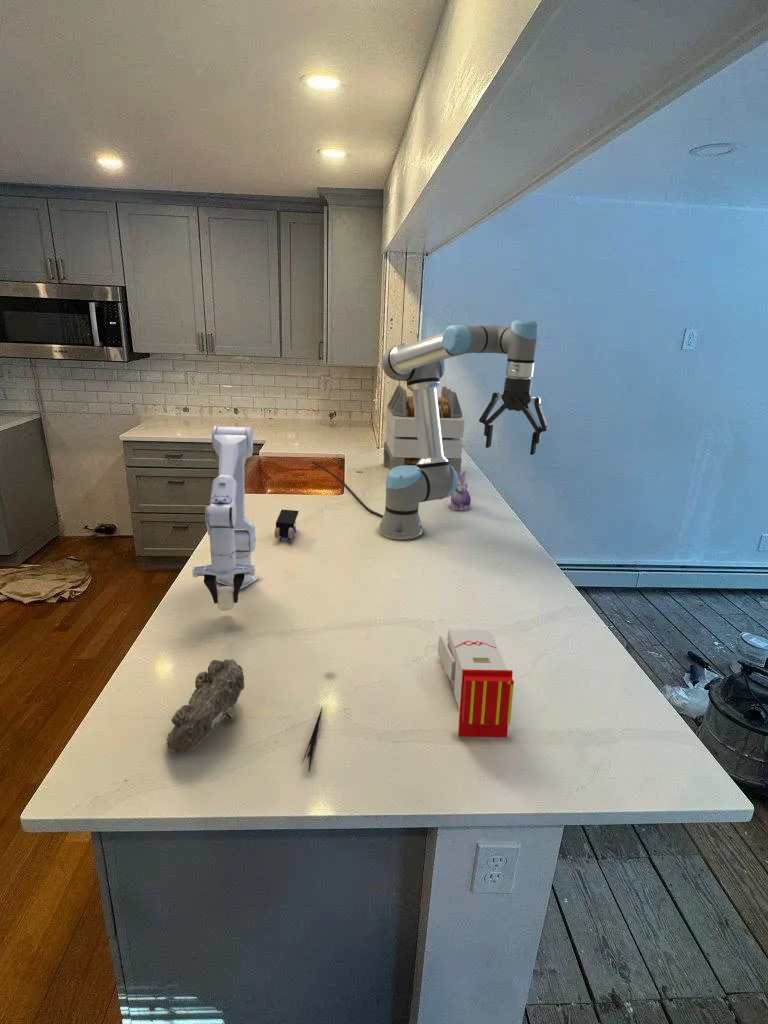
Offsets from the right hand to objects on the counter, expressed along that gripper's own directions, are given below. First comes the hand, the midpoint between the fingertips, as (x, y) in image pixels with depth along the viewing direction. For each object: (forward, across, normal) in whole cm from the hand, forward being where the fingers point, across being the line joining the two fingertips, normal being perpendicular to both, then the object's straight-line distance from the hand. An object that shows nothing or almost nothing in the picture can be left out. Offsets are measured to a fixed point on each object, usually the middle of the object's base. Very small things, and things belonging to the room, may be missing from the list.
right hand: (509, 450), depth 168 cm
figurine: (+36, -30, +42) cm, 63 cm away
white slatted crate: (+36, -66, +78) cm, 108 cm away
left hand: (+32, -46, -72) cm, 91 cm away
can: (+33, -46, -72) cm, 92 cm away
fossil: (+36, -22, -100) cm, 109 cm away
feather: (+36, -4, -90) cm, 97 cm away
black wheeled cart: (+36, -67, -22) cm, 79 cm away
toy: (+36, +17, -66) cm, 77 cm away
